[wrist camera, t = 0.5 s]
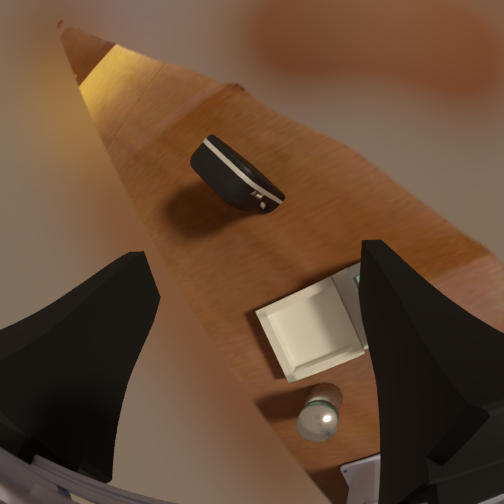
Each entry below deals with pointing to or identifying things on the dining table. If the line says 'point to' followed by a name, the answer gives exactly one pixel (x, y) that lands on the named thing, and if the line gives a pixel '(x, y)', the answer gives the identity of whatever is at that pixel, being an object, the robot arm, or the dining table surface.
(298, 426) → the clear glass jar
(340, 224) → the dining table surface
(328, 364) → the charging station
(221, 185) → the battery charger
